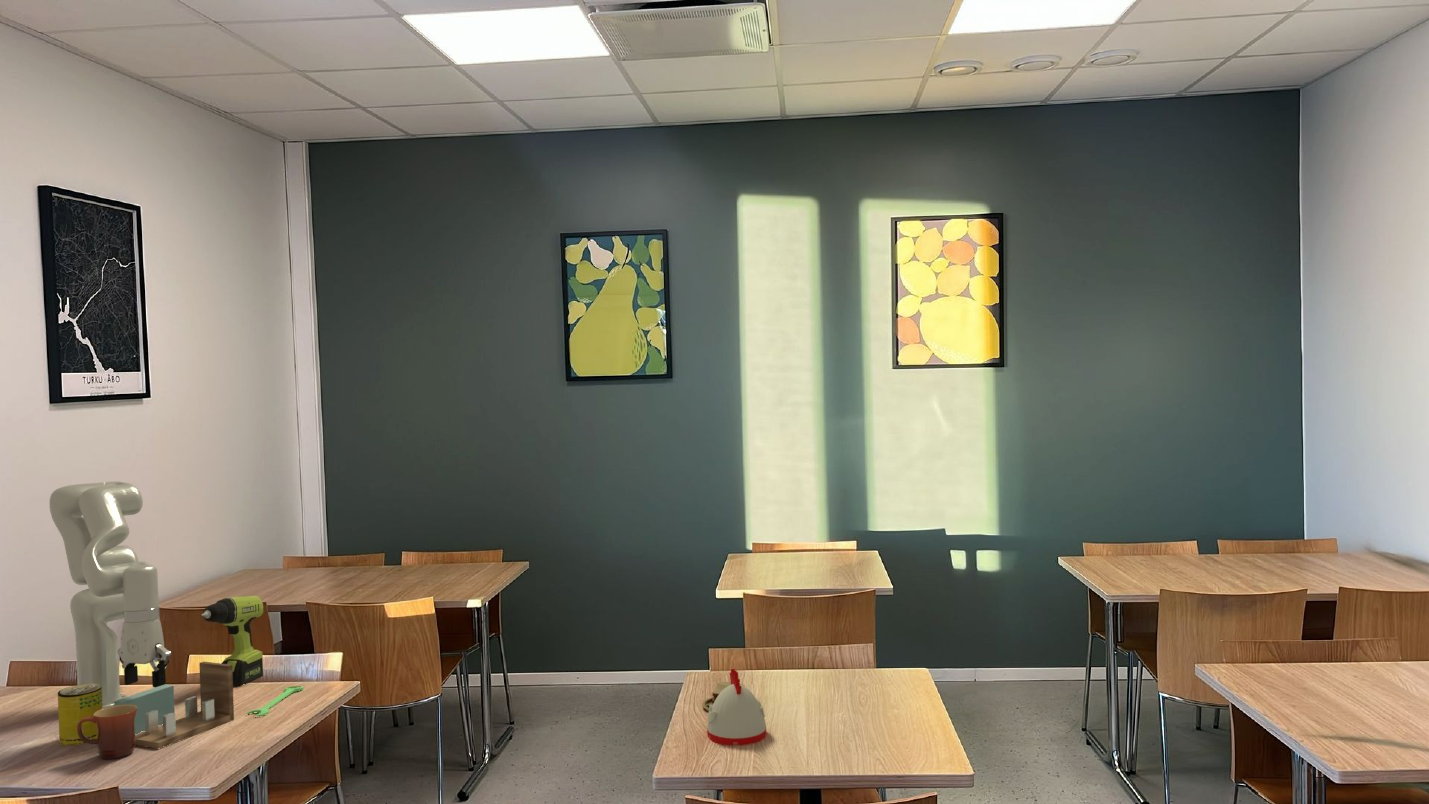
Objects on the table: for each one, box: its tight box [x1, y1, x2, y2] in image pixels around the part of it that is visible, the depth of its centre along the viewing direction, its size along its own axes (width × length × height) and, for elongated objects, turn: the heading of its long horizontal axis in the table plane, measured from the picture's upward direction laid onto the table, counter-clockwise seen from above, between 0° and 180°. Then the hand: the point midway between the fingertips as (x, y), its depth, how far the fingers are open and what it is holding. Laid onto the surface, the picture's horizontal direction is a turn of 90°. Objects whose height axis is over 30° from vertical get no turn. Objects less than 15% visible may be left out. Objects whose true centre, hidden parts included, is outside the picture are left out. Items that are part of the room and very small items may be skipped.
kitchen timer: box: [706, 668, 767, 746], centre depth 231 cm, size 14×14×15 cm
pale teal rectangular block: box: [114, 684, 176, 735], centre depth 244 cm, size 14×3×9 cm, turn 158°
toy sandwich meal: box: [702, 681, 745, 713], centre depth 251 cm, size 12×14×5 cm
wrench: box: [246, 685, 305, 717], centre depth 262 cm, size 25×2×5 cm
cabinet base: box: [135, 661, 235, 749], centre depth 241 cm, size 21×10×14 cm, turn 158°
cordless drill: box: [200, 595, 264, 687], centre depth 278 cm, size 23×7×25 cm, turn 170°
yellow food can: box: [57, 684, 102, 746], centre depth 238 cm, size 9×9×12 cm
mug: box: [77, 705, 138, 760], centre depth 226 cm, size 12×9×10 cm
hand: (145, 684), depth 243 cm, fingers open, 9 cm apart
